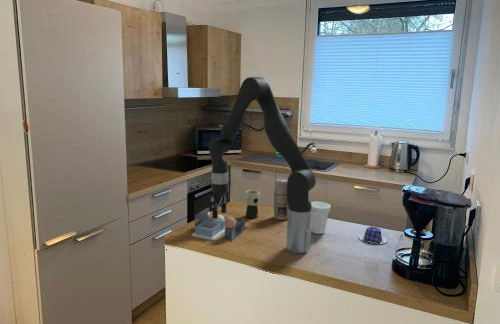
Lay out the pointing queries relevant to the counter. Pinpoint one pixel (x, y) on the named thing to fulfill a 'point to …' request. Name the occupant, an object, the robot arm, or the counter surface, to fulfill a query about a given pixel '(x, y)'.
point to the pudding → (373, 235)
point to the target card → (201, 217)
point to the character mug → (252, 203)
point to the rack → (210, 229)
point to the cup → (319, 216)
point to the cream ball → (219, 218)
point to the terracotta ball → (230, 222)
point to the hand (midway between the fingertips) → (219, 215)
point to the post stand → (235, 230)
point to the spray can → (280, 200)
